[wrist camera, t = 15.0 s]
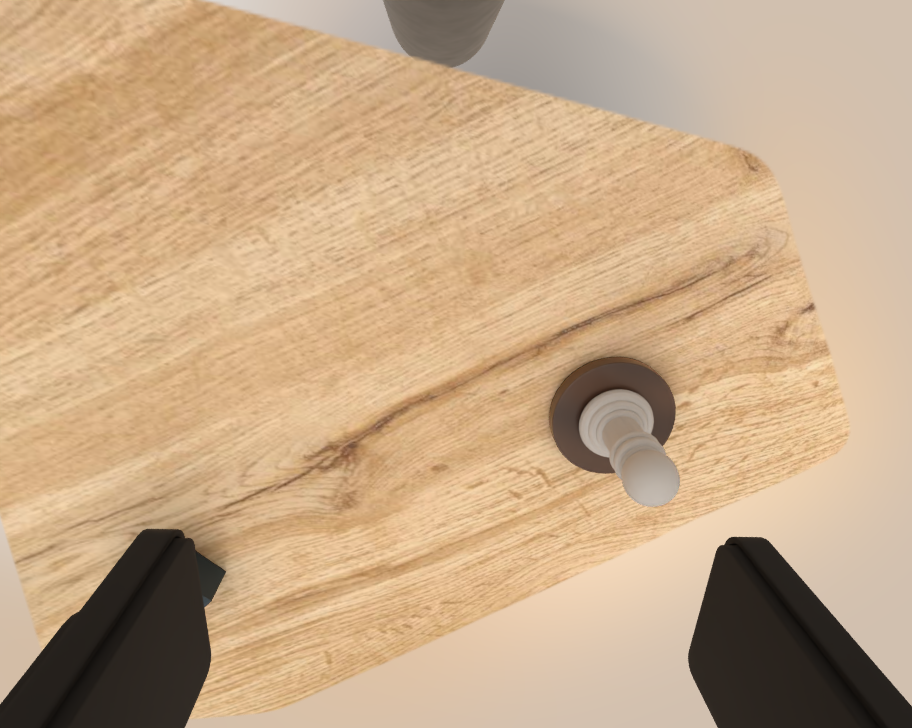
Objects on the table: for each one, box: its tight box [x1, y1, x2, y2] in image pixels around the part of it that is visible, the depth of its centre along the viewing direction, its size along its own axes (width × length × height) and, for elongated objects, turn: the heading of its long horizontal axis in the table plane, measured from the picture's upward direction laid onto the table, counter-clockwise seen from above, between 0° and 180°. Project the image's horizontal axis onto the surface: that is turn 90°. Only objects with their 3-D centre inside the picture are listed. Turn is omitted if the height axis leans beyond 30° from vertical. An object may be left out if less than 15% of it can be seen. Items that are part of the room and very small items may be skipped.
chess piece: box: [579, 389, 680, 507], centre depth 35 cm, size 5×5×9 cm
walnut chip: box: [549, 357, 675, 474], centre depth 40 cm, size 9×9×1 cm
